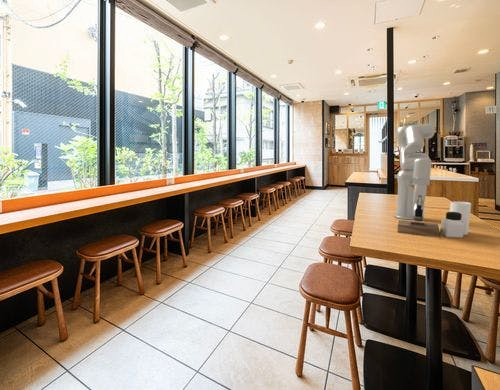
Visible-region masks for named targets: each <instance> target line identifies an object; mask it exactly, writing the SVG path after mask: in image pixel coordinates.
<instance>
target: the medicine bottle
mask: <svg viewBox="0 0 500 390" xmlns="http://www.w3.org/2000/svg"><path fill="white" fill-rule="evenodd" d="M461 216H462V214H460V213H458V212H450V211H447V212H446V213H445V219H441V222H440V227H439V233H440V234H441V235H443V236H445V237H446V238H456V239H457V238H459V239H461V238H464V235H463V233H464V227H465V224H463V223H461V222H460V221H461Z"/></svg>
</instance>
